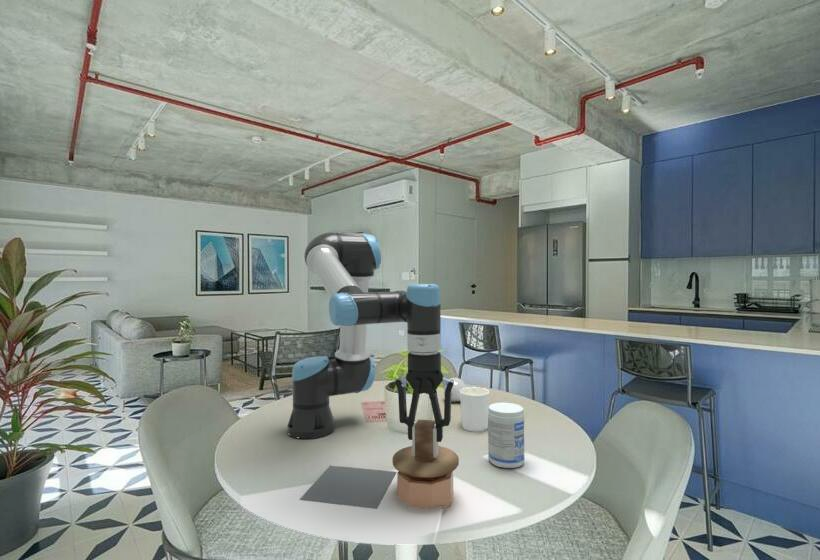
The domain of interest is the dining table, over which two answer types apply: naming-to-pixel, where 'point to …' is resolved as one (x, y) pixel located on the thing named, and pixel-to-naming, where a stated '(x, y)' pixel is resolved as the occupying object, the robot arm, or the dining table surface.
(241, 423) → the dining table surface
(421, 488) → the bowl
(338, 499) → the mat
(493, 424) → the supplement tub
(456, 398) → the potion bottle
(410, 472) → the lid
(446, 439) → the dining table surface
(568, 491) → the dining table surface
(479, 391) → the candle holder
